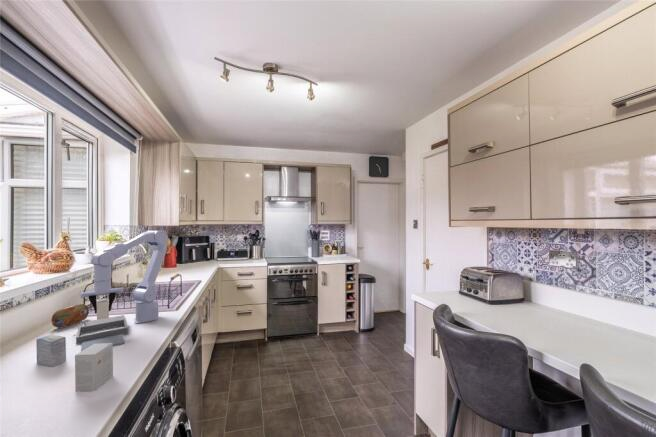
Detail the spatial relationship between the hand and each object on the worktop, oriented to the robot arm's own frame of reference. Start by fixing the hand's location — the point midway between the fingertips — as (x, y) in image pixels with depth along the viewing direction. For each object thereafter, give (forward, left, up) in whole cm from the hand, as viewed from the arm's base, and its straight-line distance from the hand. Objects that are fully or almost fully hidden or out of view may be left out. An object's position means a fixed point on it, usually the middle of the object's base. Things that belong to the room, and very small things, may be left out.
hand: (102, 311), depth 126 cm
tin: (+12, -24, -10) cm, 28 cm away
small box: (+2, +48, -10) cm, 49 cm away
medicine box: (+14, +22, -10) cm, 28 cm away
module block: (0, 0, -2) cm, 2 cm away
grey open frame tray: (0, -7, -9) cm, 11 cm away
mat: (0, +14, -9) cm, 16 cm away
